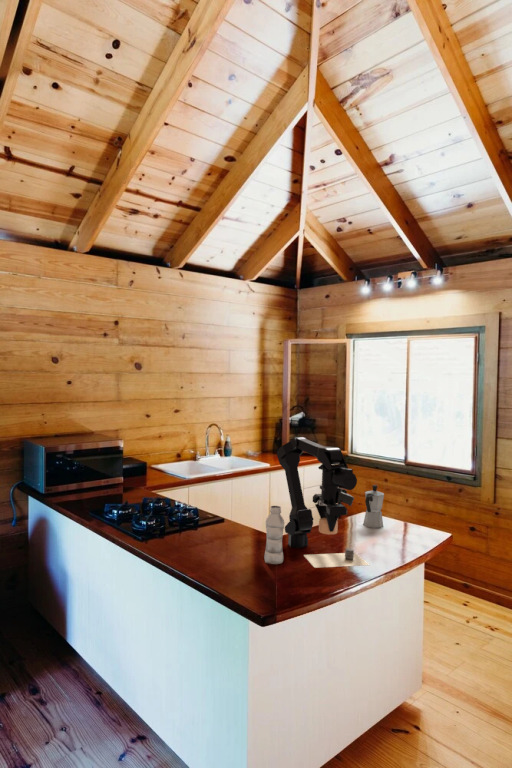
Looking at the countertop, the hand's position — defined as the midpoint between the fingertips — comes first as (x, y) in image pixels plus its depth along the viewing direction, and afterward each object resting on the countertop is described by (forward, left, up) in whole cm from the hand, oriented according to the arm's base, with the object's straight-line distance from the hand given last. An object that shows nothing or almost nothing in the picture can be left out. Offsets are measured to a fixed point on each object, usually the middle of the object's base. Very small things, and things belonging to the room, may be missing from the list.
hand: (328, 528), depth 174 cm
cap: (0, 0, -1) cm, 1 cm away
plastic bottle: (-19, +2, -13) cm, 23 cm away
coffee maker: (+37, +41, -13) cm, 57 cm away
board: (+3, 0, -13) cm, 13 cm away
